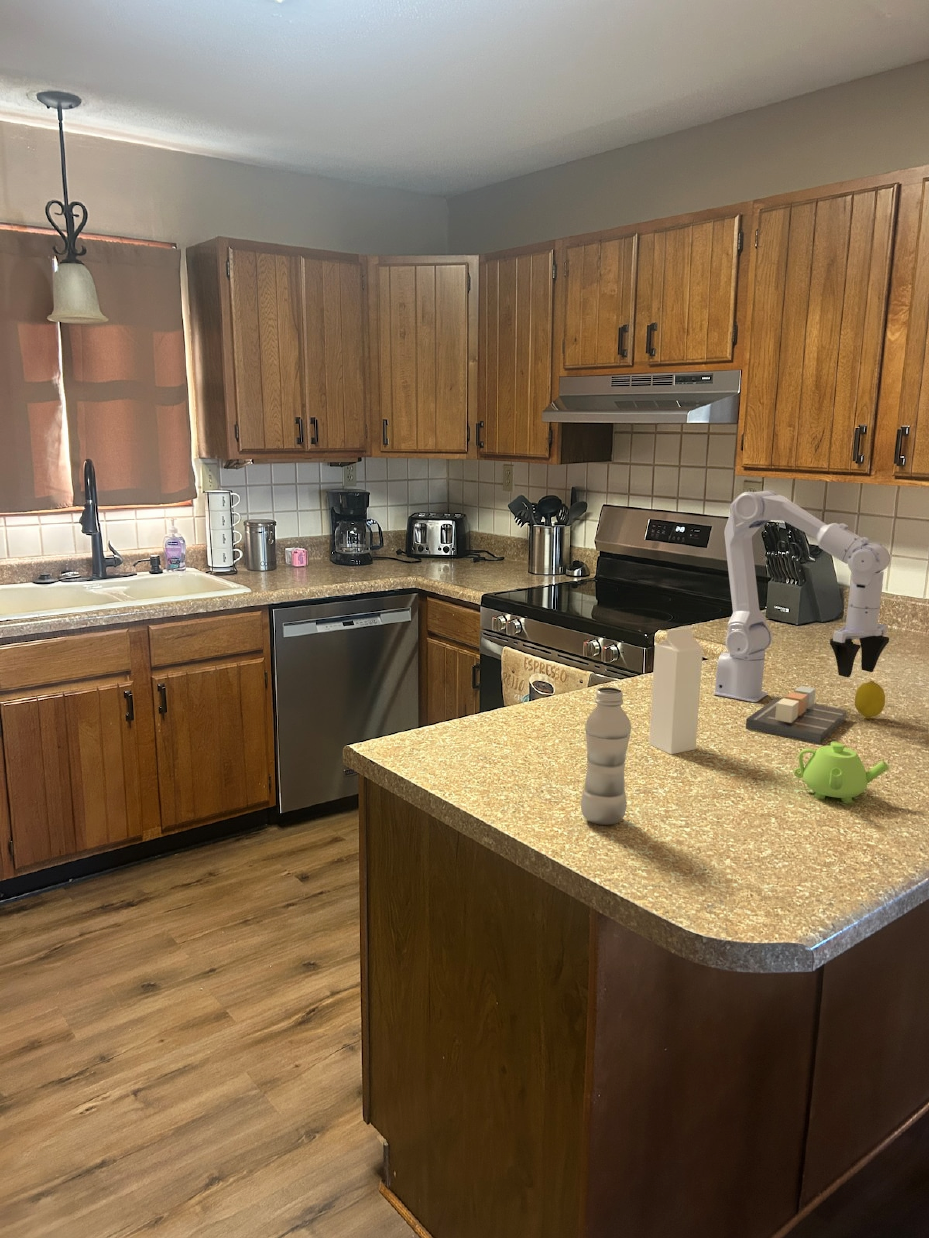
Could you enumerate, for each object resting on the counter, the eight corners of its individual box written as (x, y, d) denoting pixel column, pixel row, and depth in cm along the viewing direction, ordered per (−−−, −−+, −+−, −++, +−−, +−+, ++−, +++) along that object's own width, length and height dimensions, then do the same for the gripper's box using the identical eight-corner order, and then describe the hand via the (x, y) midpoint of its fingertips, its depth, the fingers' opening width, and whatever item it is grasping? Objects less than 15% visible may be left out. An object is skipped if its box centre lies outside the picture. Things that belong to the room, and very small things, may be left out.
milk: (695, 749, 164) (705, 630, 159) (670, 755, 161) (679, 634, 156) (672, 739, 169) (681, 623, 164) (647, 744, 166) (655, 627, 161)
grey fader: (792, 705, 182) (794, 690, 181) (798, 701, 185) (800, 685, 184) (808, 708, 180) (809, 692, 179) (814, 704, 183) (815, 688, 182)
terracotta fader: (784, 712, 177) (785, 696, 177) (790, 707, 180) (792, 691, 180) (799, 715, 176) (801, 699, 175) (805, 710, 179) (807, 694, 178)
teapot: (780, 786, 147) (784, 736, 146) (833, 776, 152) (839, 728, 150) (832, 813, 137) (838, 760, 136) (888, 802, 142) (894, 751, 140)
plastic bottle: (575, 812, 136) (581, 684, 132) (619, 811, 137) (626, 683, 133) (584, 830, 130) (591, 697, 126) (631, 829, 131) (638, 696, 126)
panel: (745, 728, 175) (746, 718, 175) (775, 706, 189) (776, 697, 189) (820, 744, 167) (821, 733, 167) (845, 720, 181) (846, 710, 181)
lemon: (885, 724, 179) (890, 685, 177) (855, 722, 180) (860, 683, 178) (879, 715, 184) (883, 678, 183) (850, 713, 185) (854, 676, 184)
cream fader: (775, 719, 173) (776, 703, 172) (781, 714, 176) (783, 698, 175) (791, 722, 171) (792, 706, 171) (797, 717, 174) (799, 701, 174)
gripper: (860, 613, 169) (851, 683, 172) (904, 606, 177) (896, 673, 180) (826, 606, 175) (819, 674, 177) (871, 600, 182) (863, 665, 185)
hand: (855, 673), depth 179 cm, fingers open, 7 cm apart
